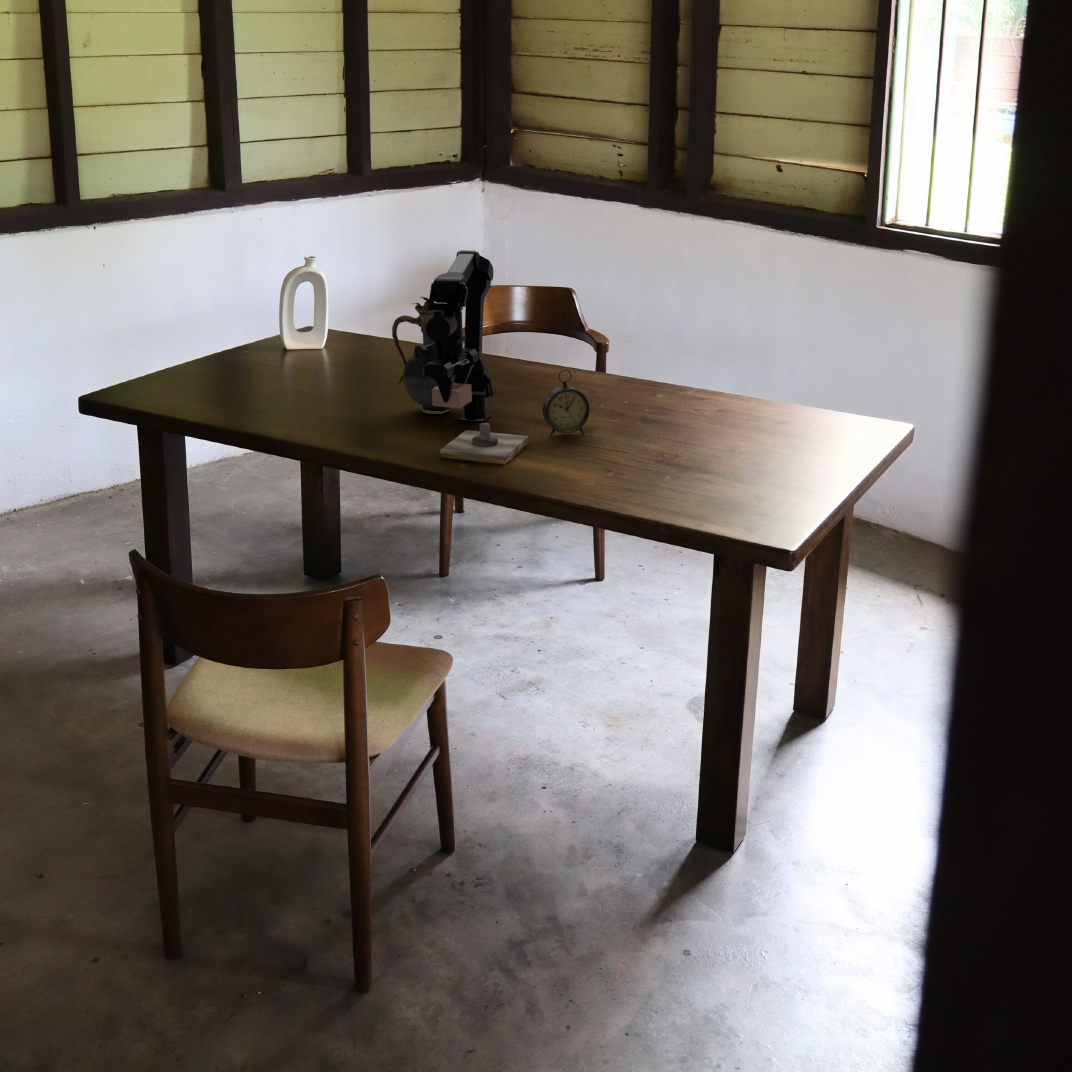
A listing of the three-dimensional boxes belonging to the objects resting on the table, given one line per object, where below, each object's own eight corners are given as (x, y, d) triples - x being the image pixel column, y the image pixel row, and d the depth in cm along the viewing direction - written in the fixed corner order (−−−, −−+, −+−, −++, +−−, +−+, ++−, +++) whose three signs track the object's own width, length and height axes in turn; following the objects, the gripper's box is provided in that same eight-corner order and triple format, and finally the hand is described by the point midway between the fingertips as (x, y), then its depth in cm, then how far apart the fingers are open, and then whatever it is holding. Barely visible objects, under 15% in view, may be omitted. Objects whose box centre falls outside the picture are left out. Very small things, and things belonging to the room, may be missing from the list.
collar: (445, 398, 283) (444, 381, 282) (471, 400, 281) (471, 384, 279) (432, 405, 277) (431, 389, 276) (459, 408, 275) (459, 391, 273)
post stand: (466, 438, 287) (465, 412, 284) (528, 444, 282) (528, 417, 279) (440, 458, 273) (439, 431, 270) (505, 465, 268) (505, 437, 265)
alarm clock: (546, 439, 285) (546, 374, 279) (540, 433, 290) (540, 368, 284) (589, 435, 288) (590, 370, 282) (583, 429, 293) (583, 365, 286)
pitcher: (454, 419, 301) (450, 302, 290) (387, 413, 307) (380, 297, 296) (471, 408, 310) (468, 294, 299) (405, 402, 316) (400, 289, 305)
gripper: (435, 322, 283) (438, 385, 289) (400, 338, 267) (403, 405, 273) (478, 325, 280) (480, 389, 286) (445, 341, 264) (447, 409, 269)
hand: (452, 398), depth 279 cm, fingers closed on collar, 7 cm apart
